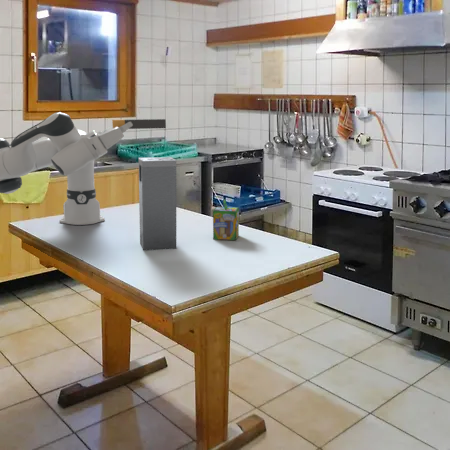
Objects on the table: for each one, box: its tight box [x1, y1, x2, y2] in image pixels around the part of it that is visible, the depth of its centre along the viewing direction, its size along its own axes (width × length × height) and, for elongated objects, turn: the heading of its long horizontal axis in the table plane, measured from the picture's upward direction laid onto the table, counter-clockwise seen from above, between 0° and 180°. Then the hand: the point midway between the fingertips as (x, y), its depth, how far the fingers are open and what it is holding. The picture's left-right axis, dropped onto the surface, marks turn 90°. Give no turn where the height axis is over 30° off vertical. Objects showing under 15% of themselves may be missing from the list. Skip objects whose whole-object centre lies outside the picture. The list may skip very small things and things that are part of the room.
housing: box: [138, 156, 177, 251], centre depth 210 cm, size 10×12×32 cm
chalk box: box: [212, 199, 240, 241], centre depth 226 cm, size 9×9×15 cm
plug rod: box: [112, 118, 167, 130], centre depth 201 cm, size 3×18×3 cm, turn 104°
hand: (131, 122), depth 200 cm, fingers closed on plug rod, 3 cm apart
